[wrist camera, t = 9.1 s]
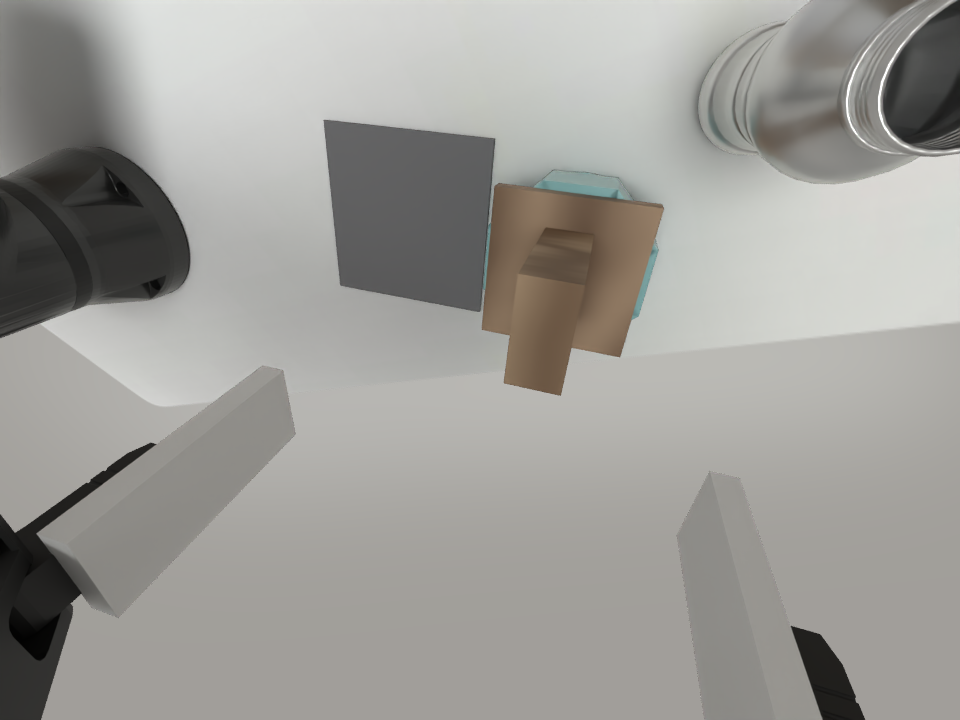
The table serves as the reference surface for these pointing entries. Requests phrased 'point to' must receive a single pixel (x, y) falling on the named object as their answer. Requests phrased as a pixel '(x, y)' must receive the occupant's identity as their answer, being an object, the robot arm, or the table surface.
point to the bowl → (596, 187)
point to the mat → (410, 211)
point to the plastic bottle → (840, 89)
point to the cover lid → (563, 277)
